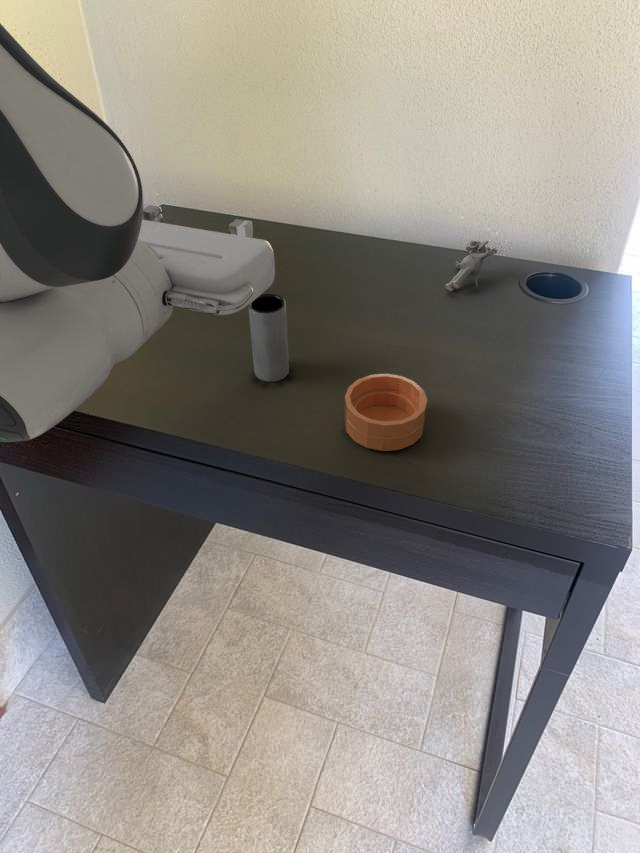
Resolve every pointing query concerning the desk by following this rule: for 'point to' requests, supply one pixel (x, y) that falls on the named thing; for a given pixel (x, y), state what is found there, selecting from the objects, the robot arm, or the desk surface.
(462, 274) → the grey figurine
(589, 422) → the desk surface
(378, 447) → the bowl
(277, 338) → the tall grey cup
